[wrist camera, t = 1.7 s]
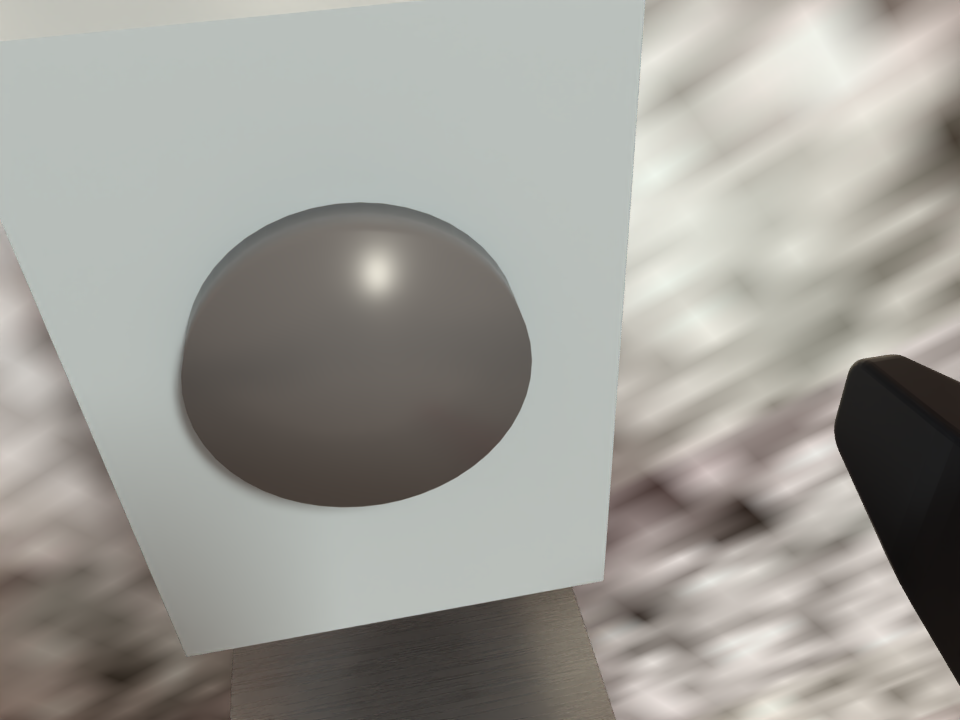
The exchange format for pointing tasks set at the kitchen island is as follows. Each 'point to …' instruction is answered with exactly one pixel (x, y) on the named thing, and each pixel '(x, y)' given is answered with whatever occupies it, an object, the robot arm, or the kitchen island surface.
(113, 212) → the block with dome knob
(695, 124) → the kitchen island surface
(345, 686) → the metal-capped square post
